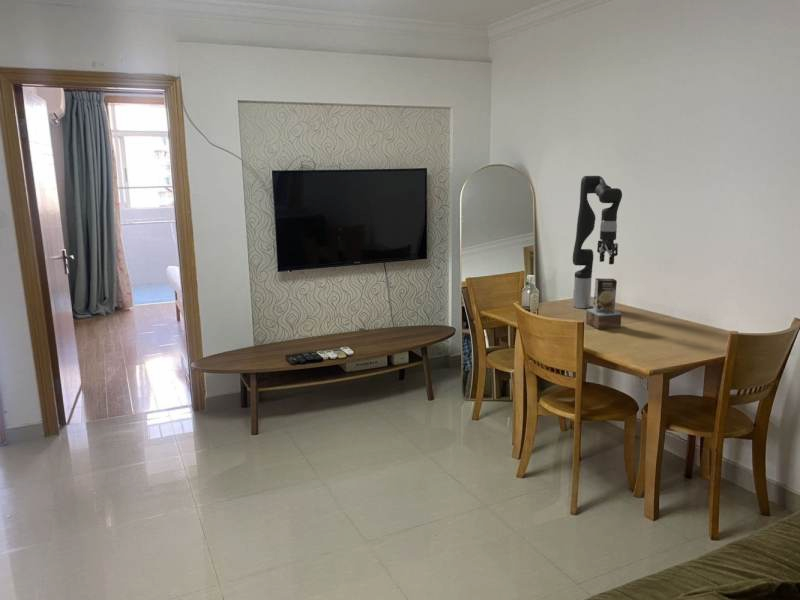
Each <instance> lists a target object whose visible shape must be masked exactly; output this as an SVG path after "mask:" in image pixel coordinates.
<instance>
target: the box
mask: <svg viewBox="0 0 800 600" xmlns="http://www.w3.org/2000/svg"><path fill="white" fill-rule="evenodd" d="M585 325H587V326H589V325H590V327H591V326H592V327H591V328H593V327H594V329H596V330H598V331H600V330H604V331H605V330H614V329H621V327H622V314H621V315H609V316H598V315H595V314H593V313H591V312H589V311H587V310H586V318H585Z"/></svg>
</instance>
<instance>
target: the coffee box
mask: <svg viewBox="0 0 800 600" xmlns="http://www.w3.org/2000/svg"><path fill="white" fill-rule="evenodd" d="M616 294H617V280H616V279H614V278H597V277H596V278H595V281H594V293H593V308H592V309H593V310H595V311H596V312H615V311H616V310H615V309H616V308H615V307H616V299H617V295H616Z"/></svg>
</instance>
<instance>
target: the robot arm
mask: <svg viewBox="0 0 800 600" xmlns="http://www.w3.org/2000/svg"><path fill="white" fill-rule="evenodd" d="M588 194H595V195H596V196H597V197H598V200H599V202H600V203H602V204H611V206H610V207H605V208H602V211H601V217H600V218H601V220H600V221H601V222H600V231H599V239H600V240H598V241H597V250H596V251H597V253H598V254H599V262H601V263H602V262H603V263H604V262H605V258H606V257H605V253H607V254H608V255H609V257H608V265H614V264H615V257H618V251H619V250H618V248H619V244H618V243H616V242H615V241H616V239H617V232H618V231H617V229H618V225H617V224H618V223H617V221H618V220H617V219H618V211H619V207H620V204H621V201H622V198H623V192H622V190H621V188H617V187H615V188H614V187H613V188H612V187H611V186H609V185H608V184H607V183H606V181H605V180H604V178H603V177H602V176H600V175H584V176H582V178H581V180H580V193H579V195H580V196H579V205H578V206H579V207H578V214H577V220H576V221H577V222H576V234H575V235H576V236H575V242H574V246H573V251H572V252H573V253H572V264H573V265H574V266H579V267H580V266H584V267H583V268H582V269H579V270H577V271H575V272H574V284H573V294H572V295H573V296H572V297H573V298H572V299H573V301H572V306H573V307H574V308H576V309H591V308H590V307H591V296H592V295H591V294H592V278H593V277H592V276H593V275H592V274H593V267H594V265H593V264H594V251H593V249H591V248H583V245H584V243H585V242H586V240H587V239H588V238H589V236H590V235H592V232H593V231H594V230H595V223H596V214H595V212H594V210H593V209H592V207H591V205H590V202H589V200H588ZM614 242H615V243H614Z"/></svg>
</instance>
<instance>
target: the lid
mask: <svg viewBox="0 0 800 600" xmlns="http://www.w3.org/2000/svg"><path fill="white" fill-rule="evenodd" d="M587 311H589V312H591V313H593V314H595V315H598V316H609V315H621V316H622V312H620V311H618V310H615V312H596V311H595V310H593V308H586V312H587Z"/></svg>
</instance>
